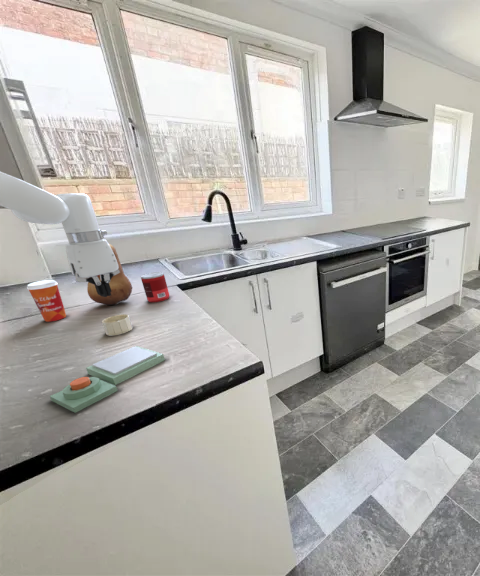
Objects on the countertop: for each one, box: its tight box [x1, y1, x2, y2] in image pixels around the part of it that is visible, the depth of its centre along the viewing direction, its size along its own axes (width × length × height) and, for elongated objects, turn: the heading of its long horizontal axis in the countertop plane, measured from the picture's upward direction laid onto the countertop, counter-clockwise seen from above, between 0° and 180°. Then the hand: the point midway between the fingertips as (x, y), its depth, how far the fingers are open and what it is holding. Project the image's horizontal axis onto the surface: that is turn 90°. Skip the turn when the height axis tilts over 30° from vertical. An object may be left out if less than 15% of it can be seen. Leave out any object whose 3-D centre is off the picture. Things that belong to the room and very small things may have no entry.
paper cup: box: [26, 279, 67, 323], centre depth 111 cm, size 8×8×14 cm
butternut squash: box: [86, 242, 133, 306], centre depth 123 cm, size 14×13×25 cm
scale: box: [85, 345, 166, 386], centre depth 82 cm, size 12×12×3 cm
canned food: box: [140, 271, 170, 303], centre depth 129 cm, size 8×8×11 cm
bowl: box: [101, 313, 133, 337], centre depth 102 cm, size 7×7×4 cm
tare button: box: [69, 376, 91, 391], centre depth 70 cm, size 3×3×2 cm
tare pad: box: [49, 376, 118, 414], centre depth 71 cm, size 10×8×3 cm
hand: (105, 295), depth 96 cm, fingers closed
